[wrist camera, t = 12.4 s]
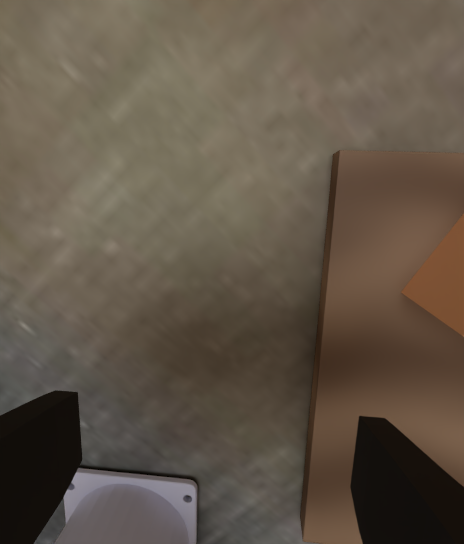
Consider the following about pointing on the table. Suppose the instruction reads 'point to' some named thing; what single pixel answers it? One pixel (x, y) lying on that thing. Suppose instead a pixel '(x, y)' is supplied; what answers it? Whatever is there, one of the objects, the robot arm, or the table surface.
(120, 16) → the table surface
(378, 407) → the board
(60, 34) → the table surface
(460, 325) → the terracotta cube
